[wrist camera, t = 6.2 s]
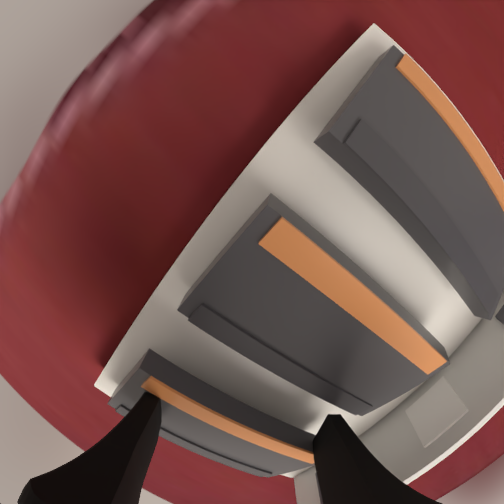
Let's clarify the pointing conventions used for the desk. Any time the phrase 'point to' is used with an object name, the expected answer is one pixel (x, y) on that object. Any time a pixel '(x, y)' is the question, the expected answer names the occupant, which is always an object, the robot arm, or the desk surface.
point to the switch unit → (369, 260)
